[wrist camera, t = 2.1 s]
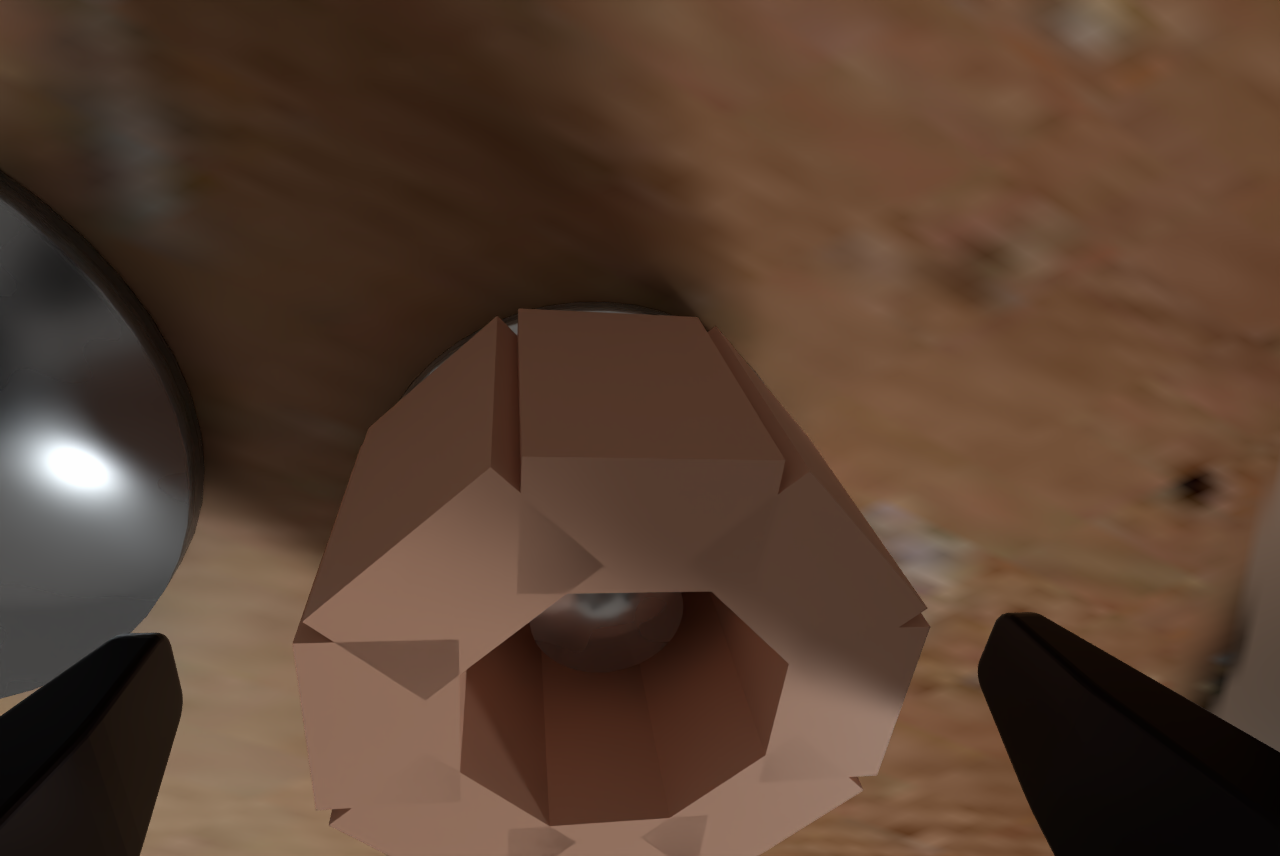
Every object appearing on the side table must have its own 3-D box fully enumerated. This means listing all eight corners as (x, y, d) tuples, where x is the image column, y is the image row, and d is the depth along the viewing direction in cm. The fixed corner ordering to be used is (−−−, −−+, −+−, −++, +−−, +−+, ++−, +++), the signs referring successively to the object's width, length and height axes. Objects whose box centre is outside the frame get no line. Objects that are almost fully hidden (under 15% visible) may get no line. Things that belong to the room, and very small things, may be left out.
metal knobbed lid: (830, 313, 10) (912, 391, 8) (753, 651, 13) (800, 774, 11) (356, 289, 9) (310, 371, 7) (382, 663, 12) (355, 802, 10)
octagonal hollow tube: (842, 323, 10) (989, 464, 7) (760, 669, 13) (839, 877, 10) (350, 300, 9) (265, 453, 6) (378, 682, 12) (331, 922, 9)
